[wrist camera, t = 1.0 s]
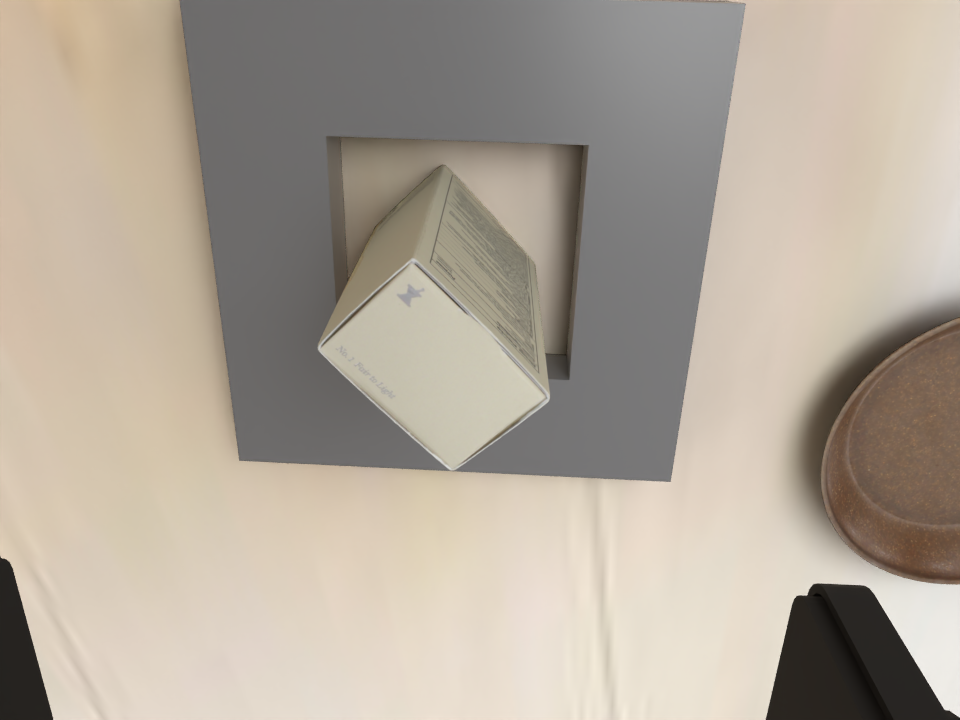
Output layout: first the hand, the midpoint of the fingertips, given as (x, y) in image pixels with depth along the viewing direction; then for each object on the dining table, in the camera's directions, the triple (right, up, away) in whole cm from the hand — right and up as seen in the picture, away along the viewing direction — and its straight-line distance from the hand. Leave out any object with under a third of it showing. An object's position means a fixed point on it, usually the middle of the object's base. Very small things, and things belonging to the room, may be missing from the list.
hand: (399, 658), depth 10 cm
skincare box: (0, +9, +25) cm, 27 cm away
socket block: (0, +9, +25) cm, 26 cm away
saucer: (+24, +1, +28) cm, 37 cm away
